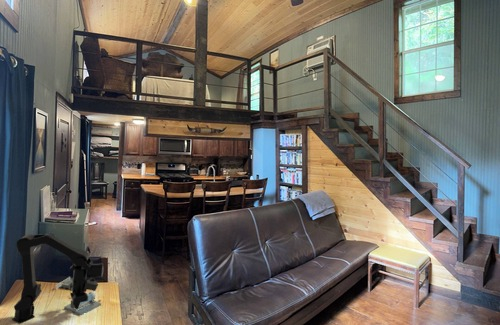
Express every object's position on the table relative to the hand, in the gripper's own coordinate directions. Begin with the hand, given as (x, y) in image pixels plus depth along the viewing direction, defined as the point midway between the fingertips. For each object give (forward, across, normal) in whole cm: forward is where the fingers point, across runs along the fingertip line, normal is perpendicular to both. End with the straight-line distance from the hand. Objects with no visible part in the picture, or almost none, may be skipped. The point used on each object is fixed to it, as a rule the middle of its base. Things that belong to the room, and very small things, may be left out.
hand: (76, 308), depth 143 cm
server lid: (+3, +6, -4) cm, 8 cm away
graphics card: (+4, +33, -3) cm, 33 cm away
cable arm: (+1, +6, -4) cm, 7 cm away
